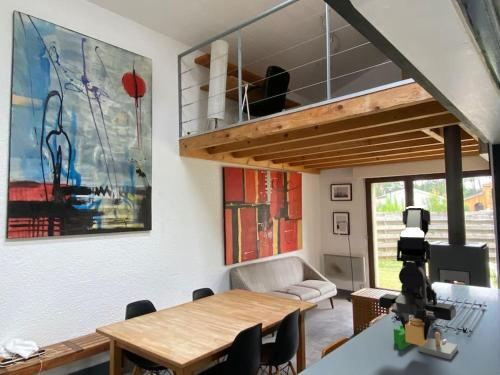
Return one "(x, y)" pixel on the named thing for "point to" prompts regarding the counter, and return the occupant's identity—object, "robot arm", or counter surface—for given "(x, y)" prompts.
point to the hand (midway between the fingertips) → (416, 337)
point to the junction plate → (439, 347)
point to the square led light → (415, 332)
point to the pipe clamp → (400, 338)
